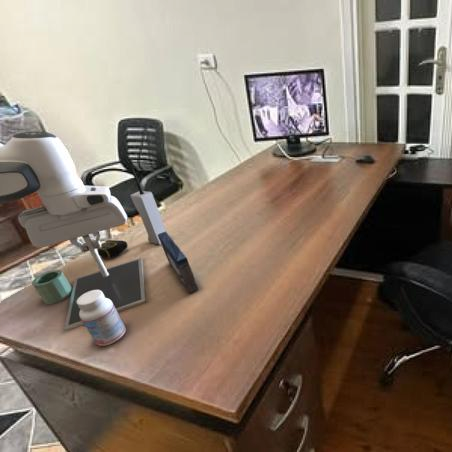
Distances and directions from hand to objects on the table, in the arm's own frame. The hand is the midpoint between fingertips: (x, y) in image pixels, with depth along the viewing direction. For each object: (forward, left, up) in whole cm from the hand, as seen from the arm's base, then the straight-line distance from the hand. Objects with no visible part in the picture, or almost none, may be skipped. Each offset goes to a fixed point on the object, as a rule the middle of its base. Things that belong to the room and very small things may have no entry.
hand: (92, 248), depth 90 cm
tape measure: (+1, +16, -11) cm, 20 cm away
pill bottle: (+1, -24, -11) cm, 26 cm away
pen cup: (-12, +1, -11) cm, 16 cm away
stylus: (0, 0, -9) cm, 9 cm away
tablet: (0, -5, -11) cm, 12 cm away
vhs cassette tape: (+18, -10, -11) cm, 23 cm away
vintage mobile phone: (+14, +15, -11) cm, 24 cm away
